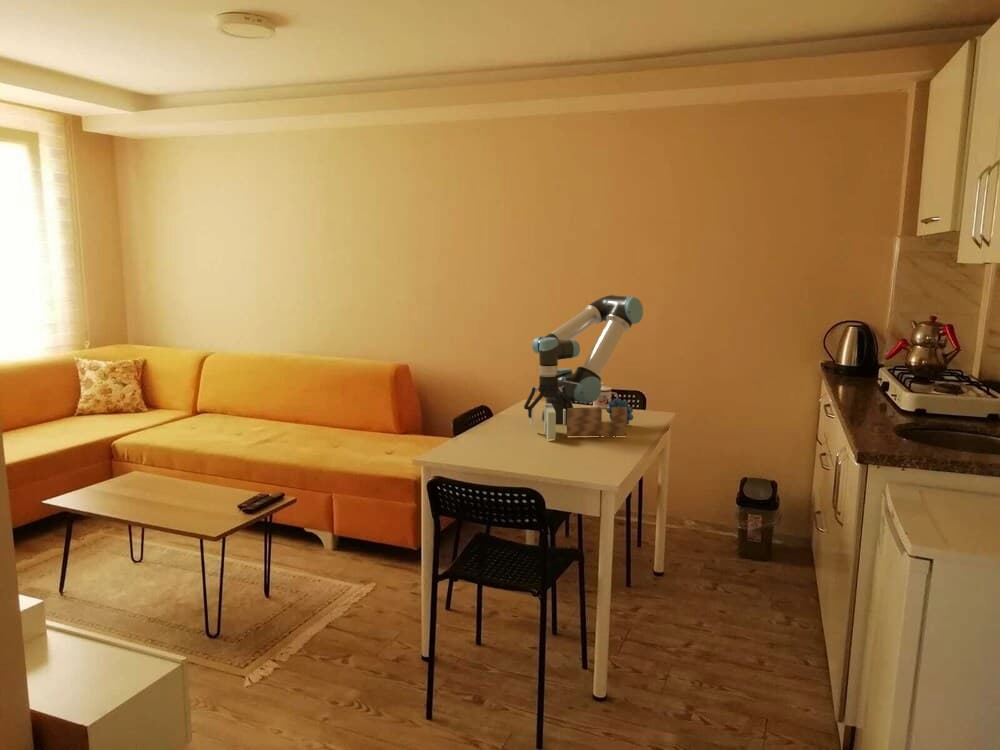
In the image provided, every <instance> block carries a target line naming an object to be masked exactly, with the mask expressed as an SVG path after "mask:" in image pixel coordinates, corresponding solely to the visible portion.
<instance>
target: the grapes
mask: <svg viewBox="0 0 1000 750" xmlns="http://www.w3.org/2000/svg"><path fill="white" fill-rule="evenodd" d="M609 406H610V407H607V408H606V412H607V413H608V414H609V418H610V420H611V416H612V407H626V408H627V426H628V425H629V424H630V421H632V420H634V416H633V414H632V413H633V411H634V409H633V408H632V406H629V402H628V401H627V400H624V399H623V400H621V398H619V397H618V398H614V400H612V399H611V401H609Z"/></svg>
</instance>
